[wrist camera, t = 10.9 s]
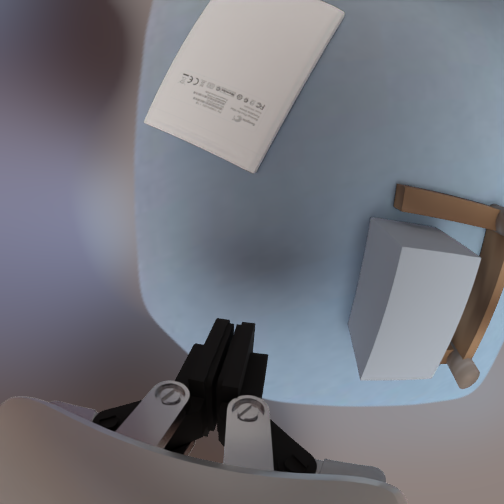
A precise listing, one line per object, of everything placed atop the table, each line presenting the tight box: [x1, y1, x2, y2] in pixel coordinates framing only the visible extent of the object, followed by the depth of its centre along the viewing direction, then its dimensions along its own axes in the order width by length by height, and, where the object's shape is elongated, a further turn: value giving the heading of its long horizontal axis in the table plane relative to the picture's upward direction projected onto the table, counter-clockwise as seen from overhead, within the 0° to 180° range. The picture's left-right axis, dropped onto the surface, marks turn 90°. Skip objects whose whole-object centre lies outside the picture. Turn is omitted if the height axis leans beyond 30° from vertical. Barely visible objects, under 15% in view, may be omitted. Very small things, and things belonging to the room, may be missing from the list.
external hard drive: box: [144, 0, 345, 174], centre depth 14 cm, size 2×8×12 cm
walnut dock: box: [394, 184, 504, 389], centre depth 15 cm, size 14×10×4 cm
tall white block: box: [348, 217, 481, 380], centre depth 15 cm, size 8×5×6 cm, turn 176°
